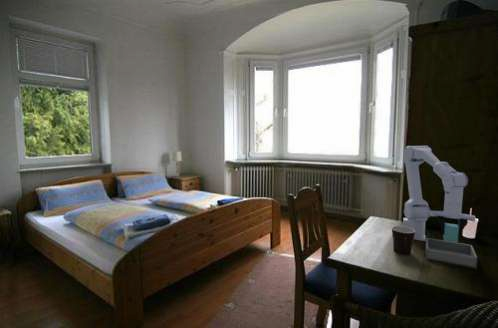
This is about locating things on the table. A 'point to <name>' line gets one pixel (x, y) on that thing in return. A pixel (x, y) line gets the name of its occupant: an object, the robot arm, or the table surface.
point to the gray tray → (451, 253)
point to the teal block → (451, 232)
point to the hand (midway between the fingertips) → (450, 235)
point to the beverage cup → (470, 228)
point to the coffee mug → (402, 239)
